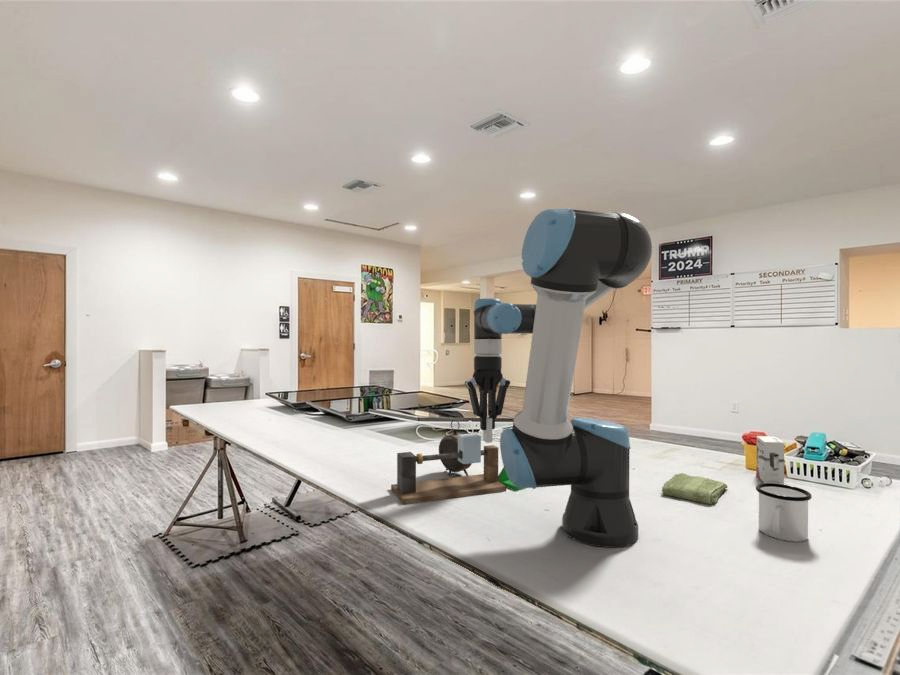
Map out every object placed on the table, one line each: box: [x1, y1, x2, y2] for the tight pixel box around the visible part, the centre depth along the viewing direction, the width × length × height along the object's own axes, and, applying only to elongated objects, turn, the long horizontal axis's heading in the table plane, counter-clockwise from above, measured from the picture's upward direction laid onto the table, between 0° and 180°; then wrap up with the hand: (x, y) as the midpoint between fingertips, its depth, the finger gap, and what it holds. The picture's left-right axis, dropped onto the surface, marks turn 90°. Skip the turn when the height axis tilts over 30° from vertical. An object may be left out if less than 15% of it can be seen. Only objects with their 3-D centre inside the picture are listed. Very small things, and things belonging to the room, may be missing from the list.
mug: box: [755, 482, 812, 543], centre depth 96 cm, size 12×10×9 cm
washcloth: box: [661, 472, 728, 505], centre depth 124 cm, size 13×18×3 cm
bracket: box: [498, 466, 526, 492], centre depth 131 cm, size 12×8×7 cm, turn 130°
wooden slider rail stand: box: [390, 444, 507, 505], centre depth 124 cm, size 28×12×10 cm, turn 111°
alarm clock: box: [438, 419, 473, 477], centre depth 138 cm, size 11×5×16 cm, turn 45°
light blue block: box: [458, 432, 482, 464], centre depth 127 cm, size 5×4×7 cm
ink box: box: [755, 435, 785, 485], centre depth 134 cm, size 9×5×12 cm, turn 161°
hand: (487, 441), depth 129 cm, fingers closed
